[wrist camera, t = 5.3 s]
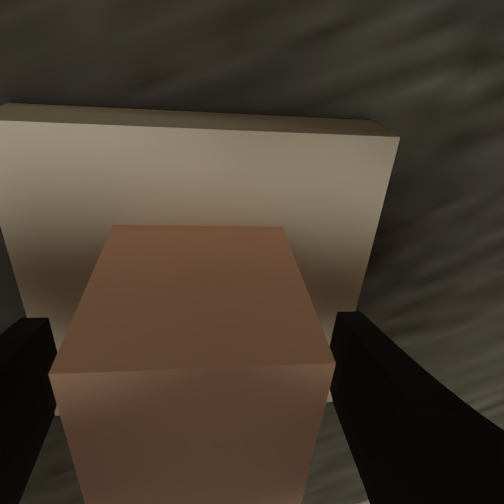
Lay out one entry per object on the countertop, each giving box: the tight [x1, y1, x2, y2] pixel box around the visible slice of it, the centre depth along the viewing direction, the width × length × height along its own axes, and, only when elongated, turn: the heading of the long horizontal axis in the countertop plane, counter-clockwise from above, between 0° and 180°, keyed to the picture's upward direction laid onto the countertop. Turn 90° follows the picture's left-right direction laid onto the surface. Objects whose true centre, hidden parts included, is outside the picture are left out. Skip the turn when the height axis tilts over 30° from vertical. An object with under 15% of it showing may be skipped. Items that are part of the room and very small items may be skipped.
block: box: [48, 225, 336, 504], centre depth 9 cm, size 4×4×5 cm
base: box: [0, 103, 400, 416], centre depth 12 cm, size 10×10×2 cm
